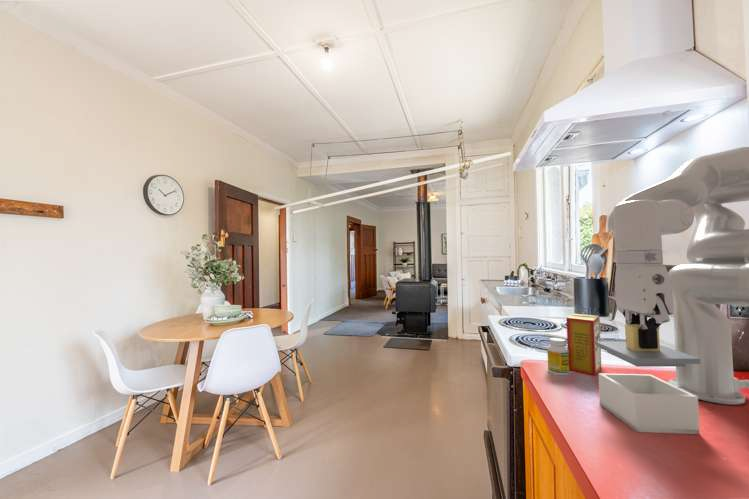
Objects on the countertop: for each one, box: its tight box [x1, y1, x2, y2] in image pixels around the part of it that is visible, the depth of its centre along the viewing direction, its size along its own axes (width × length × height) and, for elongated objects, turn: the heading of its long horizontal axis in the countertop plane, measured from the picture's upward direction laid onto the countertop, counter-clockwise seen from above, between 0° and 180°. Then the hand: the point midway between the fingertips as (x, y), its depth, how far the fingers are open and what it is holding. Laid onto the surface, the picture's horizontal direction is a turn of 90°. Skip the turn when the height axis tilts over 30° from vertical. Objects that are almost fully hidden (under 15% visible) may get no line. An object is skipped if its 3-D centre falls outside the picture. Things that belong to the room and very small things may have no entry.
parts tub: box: [598, 372, 701, 435], centre depth 63 cm, size 11×11×7 cm
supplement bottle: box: [546, 337, 570, 376], centre depth 88 cm, size 5×5×10 cm
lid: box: [596, 323, 700, 368], centre depth 63 cm, size 12×12×7 cm
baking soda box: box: [566, 313, 602, 377], centre depth 90 cm, size 10×6×16 cm
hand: (642, 345), depth 63 cm, fingers closed on lid
